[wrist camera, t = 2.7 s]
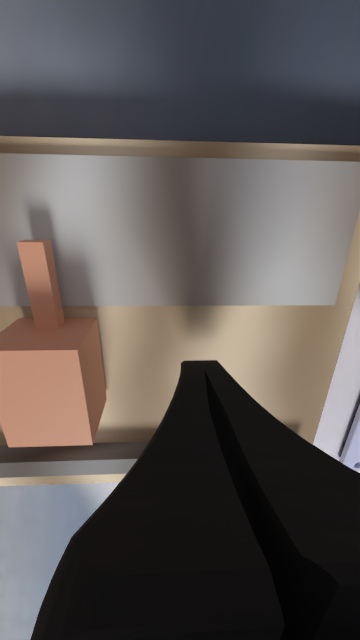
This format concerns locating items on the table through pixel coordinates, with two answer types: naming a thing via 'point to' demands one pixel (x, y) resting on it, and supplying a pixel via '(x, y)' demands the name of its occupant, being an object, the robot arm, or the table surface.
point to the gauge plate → (184, 275)
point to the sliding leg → (49, 364)
